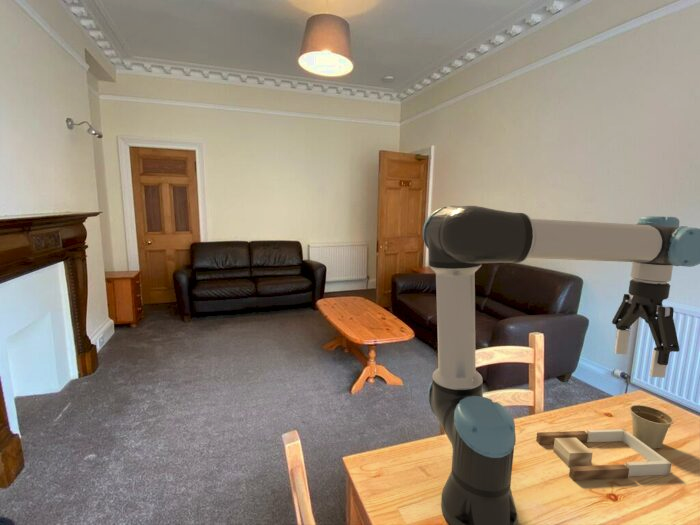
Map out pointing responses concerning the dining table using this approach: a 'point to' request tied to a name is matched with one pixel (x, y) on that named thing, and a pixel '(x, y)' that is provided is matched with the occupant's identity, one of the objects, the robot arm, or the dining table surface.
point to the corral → (655, 461)
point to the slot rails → (585, 471)
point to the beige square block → (572, 452)
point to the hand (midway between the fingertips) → (637, 364)
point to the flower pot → (650, 425)
